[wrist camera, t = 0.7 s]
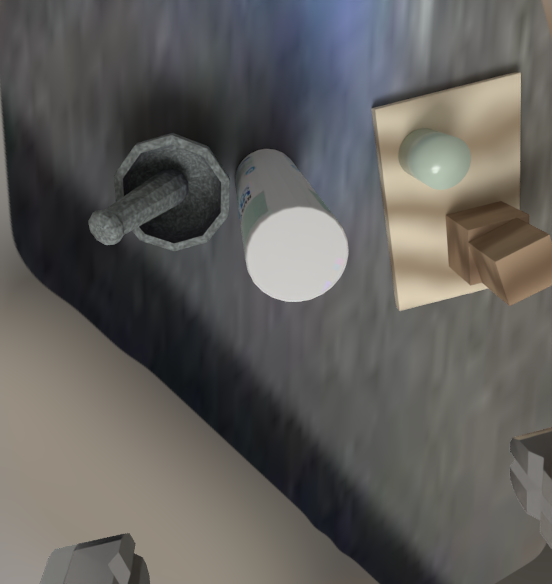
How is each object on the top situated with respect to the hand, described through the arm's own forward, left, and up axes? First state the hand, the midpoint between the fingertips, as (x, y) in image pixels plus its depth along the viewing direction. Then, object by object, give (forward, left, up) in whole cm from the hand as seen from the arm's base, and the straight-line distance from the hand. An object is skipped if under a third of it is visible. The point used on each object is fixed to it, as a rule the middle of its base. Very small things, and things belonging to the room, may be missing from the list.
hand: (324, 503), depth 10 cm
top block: (+14, +22, -34) cm, 43 cm away
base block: (+14, +22, -39) cm, 47 cm away
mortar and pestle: (+1, -7, -41) cm, 41 cm away
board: (+10, +20, -41) cm, 46 cm away
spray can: (+3, +2, -41) cm, 41 cm away
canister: (+4, +17, -39) cm, 43 cm away
